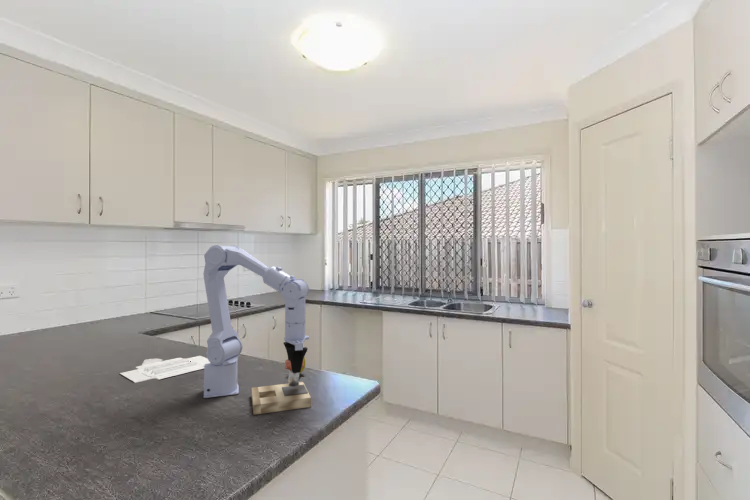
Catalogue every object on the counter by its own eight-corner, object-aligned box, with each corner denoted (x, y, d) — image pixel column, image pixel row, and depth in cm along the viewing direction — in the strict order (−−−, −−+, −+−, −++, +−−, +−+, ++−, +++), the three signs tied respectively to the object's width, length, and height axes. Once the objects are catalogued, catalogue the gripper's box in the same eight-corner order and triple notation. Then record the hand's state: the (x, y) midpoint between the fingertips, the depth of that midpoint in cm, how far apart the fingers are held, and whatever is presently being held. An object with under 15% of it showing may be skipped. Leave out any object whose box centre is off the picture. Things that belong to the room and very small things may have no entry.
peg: (304, 387, 105) (304, 361, 105) (285, 388, 103) (286, 362, 103) (301, 381, 110) (302, 356, 110) (283, 382, 108) (284, 358, 108)
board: (253, 414, 96) (253, 403, 96) (251, 396, 109) (251, 386, 109) (310, 406, 102) (311, 396, 102) (302, 389, 114) (302, 380, 114)
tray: (222, 366, 138) (222, 356, 138) (138, 391, 116) (138, 379, 116) (195, 356, 151) (195, 347, 151) (115, 377, 129) (115, 366, 129)
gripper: (314, 325, 101) (313, 375, 101) (304, 316, 115) (304, 360, 115) (287, 327, 99) (287, 378, 99) (281, 318, 112) (281, 363, 112)
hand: (294, 369), depth 107 cm, fingers closed on peg, 5 cm apart
